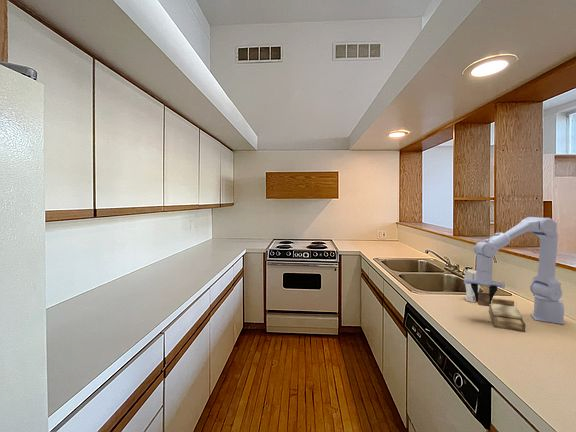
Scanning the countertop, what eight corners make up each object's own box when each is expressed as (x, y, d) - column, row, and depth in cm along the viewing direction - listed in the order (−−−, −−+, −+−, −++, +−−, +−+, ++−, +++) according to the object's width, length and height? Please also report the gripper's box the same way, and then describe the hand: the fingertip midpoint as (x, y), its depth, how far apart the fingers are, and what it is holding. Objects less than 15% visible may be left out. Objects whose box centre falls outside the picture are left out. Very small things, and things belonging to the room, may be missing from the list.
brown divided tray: (515, 314, 136) (516, 308, 136) (525, 331, 118) (525, 324, 118) (489, 311, 141) (489, 304, 141) (494, 326, 123) (494, 319, 123)
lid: (515, 307, 136) (515, 300, 136) (522, 319, 123) (522, 311, 122) (489, 304, 141) (489, 297, 140) (493, 315, 127) (493, 307, 127)
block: (488, 303, 130) (488, 293, 130) (489, 306, 127) (489, 295, 127) (477, 302, 132) (477, 291, 132) (477, 305, 129) (478, 294, 129)
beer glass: (464, 301, 154) (465, 272, 154) (463, 297, 161) (464, 269, 160) (480, 303, 151) (481, 273, 150) (479, 299, 157) (480, 270, 157)
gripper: (464, 270, 129) (463, 302, 130) (506, 274, 122) (505, 308, 123) (464, 267, 135) (463, 297, 136) (503, 270, 128) (502, 302, 129)
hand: (483, 302), depth 130 cm, fingers closed on block, 4 cm apart
